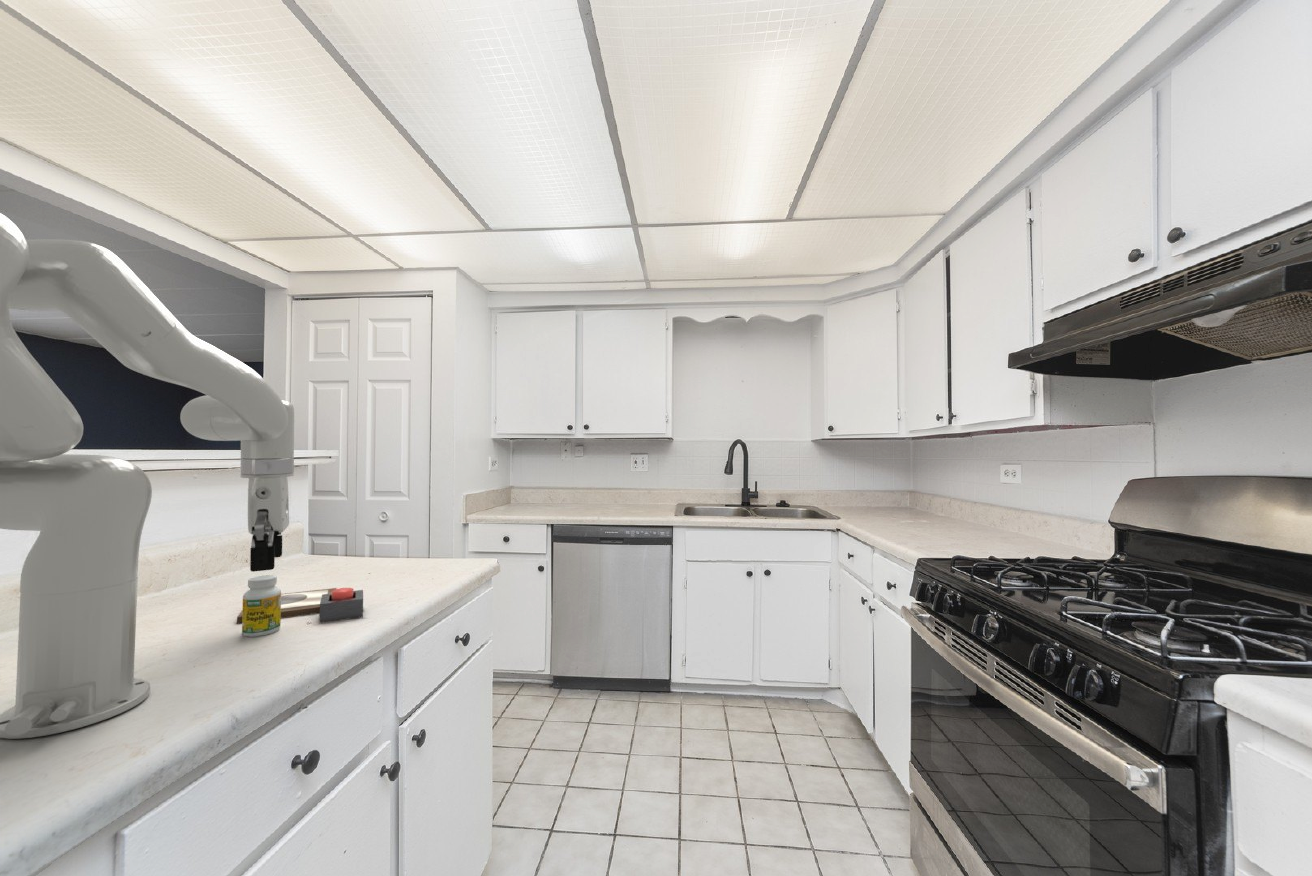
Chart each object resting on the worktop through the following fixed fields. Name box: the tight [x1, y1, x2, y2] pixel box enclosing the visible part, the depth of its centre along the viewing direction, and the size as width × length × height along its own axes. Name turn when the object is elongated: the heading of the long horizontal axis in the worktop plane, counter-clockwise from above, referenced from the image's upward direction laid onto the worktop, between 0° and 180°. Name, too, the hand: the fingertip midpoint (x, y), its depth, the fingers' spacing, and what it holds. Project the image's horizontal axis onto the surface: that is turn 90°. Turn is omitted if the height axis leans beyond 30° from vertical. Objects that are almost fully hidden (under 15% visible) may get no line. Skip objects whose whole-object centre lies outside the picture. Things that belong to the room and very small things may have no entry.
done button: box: [332, 587, 354, 601], centre depth 97 cm, size 4×4×2 cm
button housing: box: [318, 589, 364, 624], centre depth 97 cm, size 7×7×4 cm
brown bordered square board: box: [236, 587, 338, 624], centre depth 101 cm, size 14×15×2 cm
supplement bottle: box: [241, 574, 282, 638], centre depth 88 cm, size 5×5×10 cm
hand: (267, 563), depth 89 cm, fingers open, 9 cm apart
